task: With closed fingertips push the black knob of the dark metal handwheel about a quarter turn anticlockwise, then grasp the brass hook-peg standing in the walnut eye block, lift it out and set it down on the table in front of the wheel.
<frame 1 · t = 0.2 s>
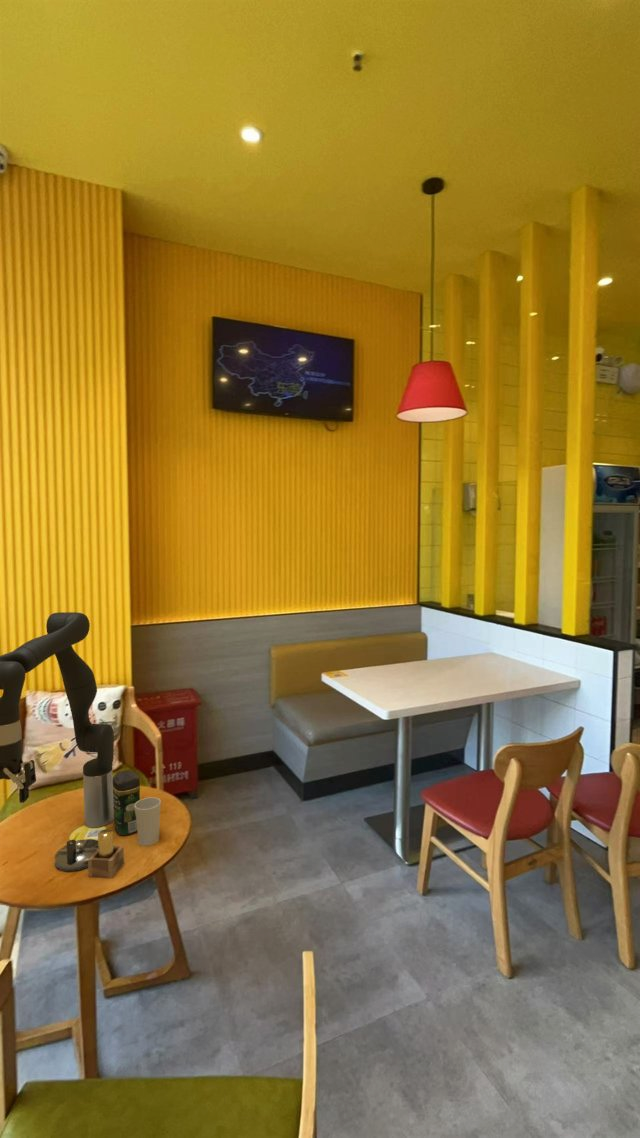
hand: (7, 801, 136), 28 cm above the table, fingers open, 8 cm apart
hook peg: (106, 851, 153), in the eye block
coffee jar: (127, 829, 176), on the table
axle cap: (79, 845, 159), point 4 cm above the table
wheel: (78, 844, 159), point 4 cm above the table, hinge at 10.0°
cup: (148, 840, 169), on the table
eye block: (106, 869, 153), on the table
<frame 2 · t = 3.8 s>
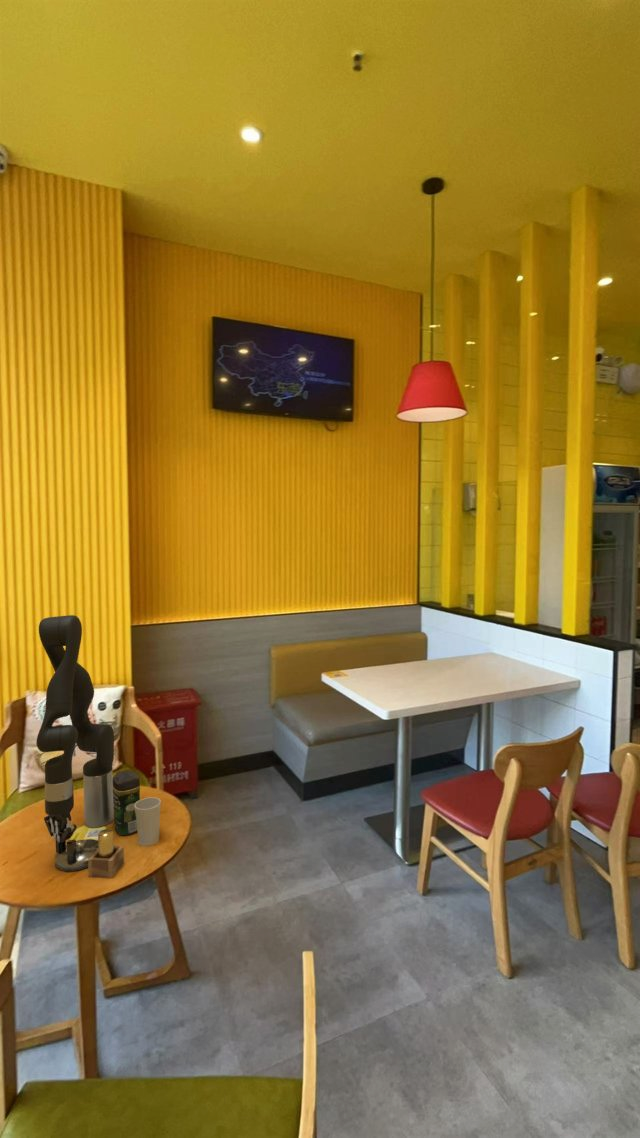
hand: (61, 852, 155), 5 cm above the table, fingers closed
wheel: (78, 844, 159), point 4 cm above the table, hinge at 10.7°, touching gripper
everything else where it was.
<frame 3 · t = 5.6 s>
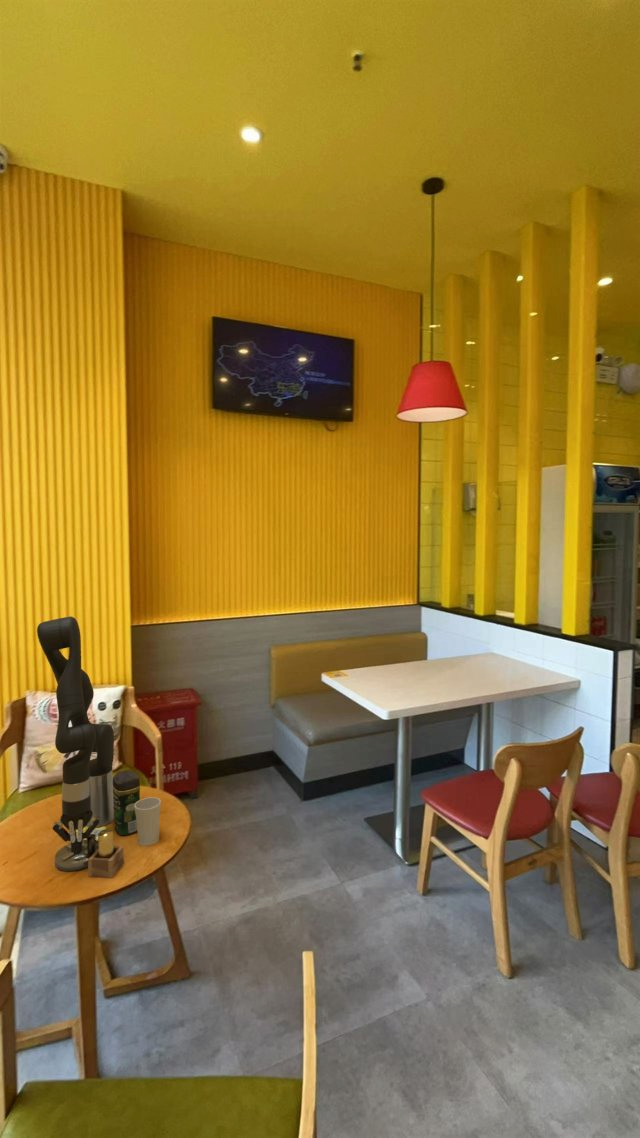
hand: (77, 852, 154), 5 cm above the table, fingers closed
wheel: (79, 844, 159), point 4 cm above the table, hinge at 69.1°, touching gripper
everything else where it was.
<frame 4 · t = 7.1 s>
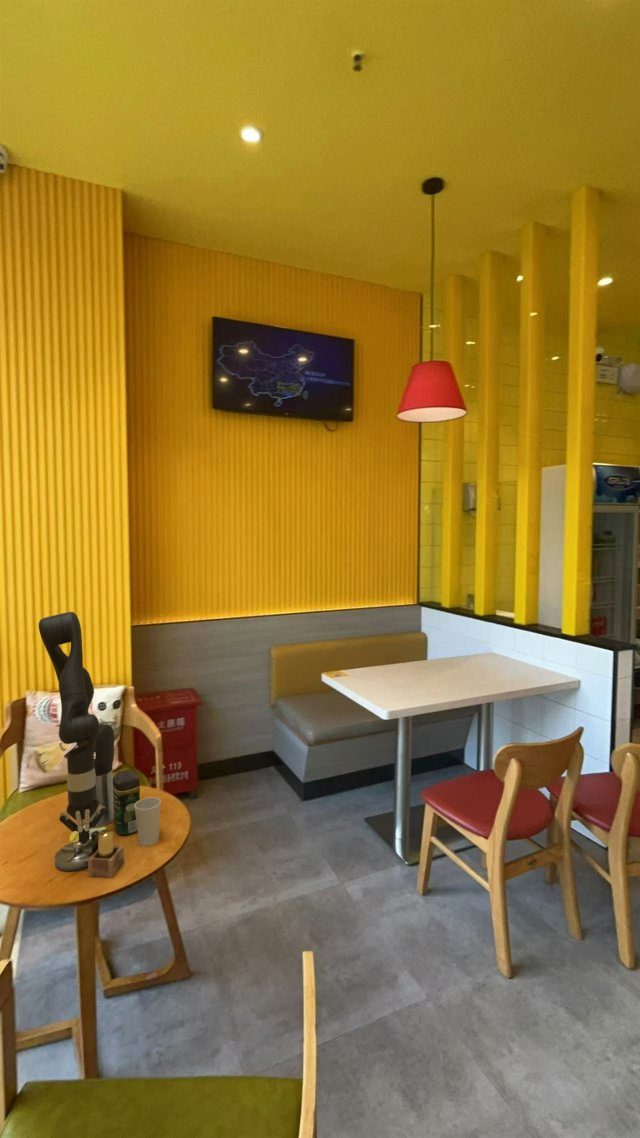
hand: (84, 842, 155), 7 cm above the table, fingers closed
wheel: (79, 844, 159), point 4 cm above the table, hinge at 86.1°
everything else where it was.
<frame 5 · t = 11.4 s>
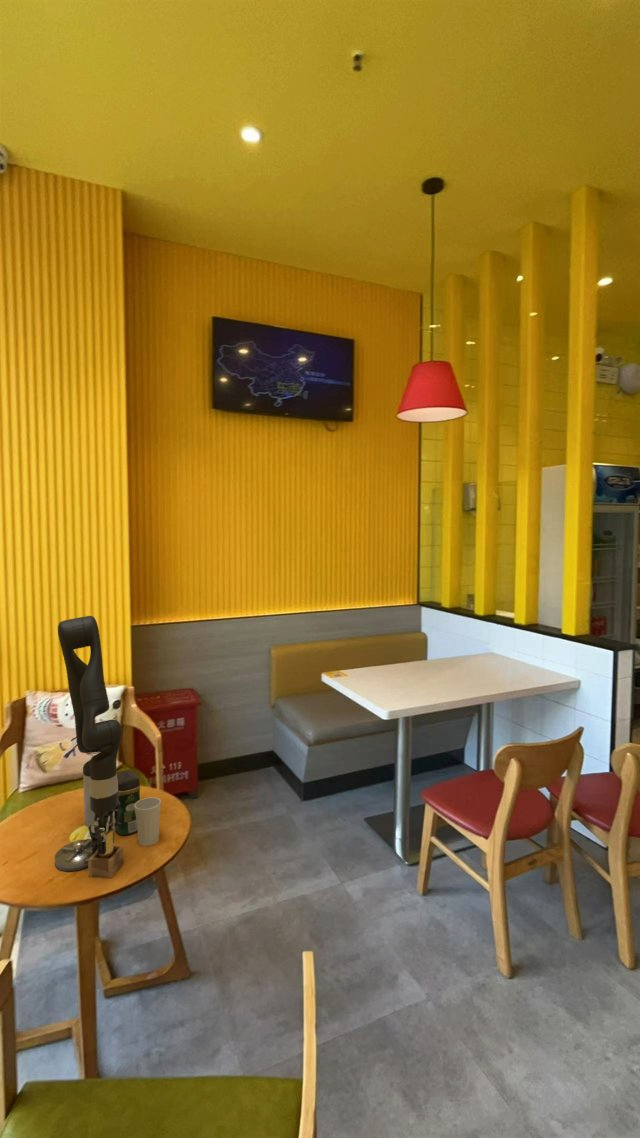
hand: (105, 848, 153), 6 cm above the table, fingers closed on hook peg, 4 cm apart
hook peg: (106, 851, 153), in the eye block, touching gripper
everything else where it was.
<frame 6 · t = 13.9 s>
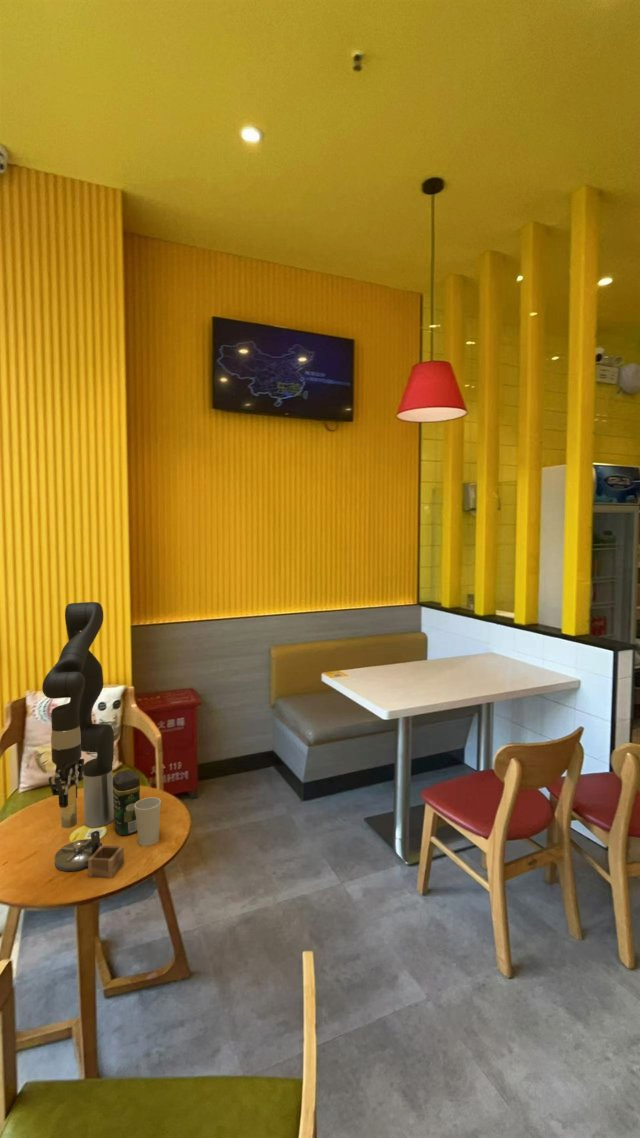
hand: (68, 802, 149), 21 cm above the table, fingers closed on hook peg, 4 cm apart
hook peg: (68, 805, 149), point 21 cm above the table, touching gripper
everything else where it was.
when the fingers open (7 cm above the table, at t = 16.7 s): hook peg stays where it is, on the table.
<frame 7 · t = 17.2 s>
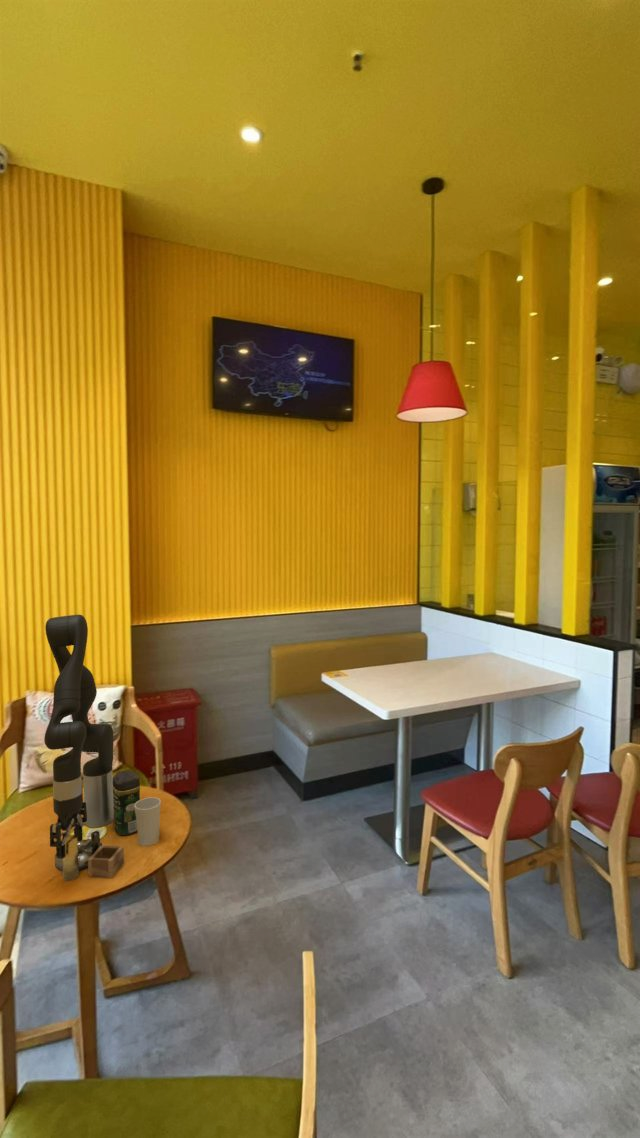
hand: (70, 849, 150), 8 cm above the table, fingers open, 8 cm apart
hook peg: (70, 857, 150), on the table
everything else where it was.
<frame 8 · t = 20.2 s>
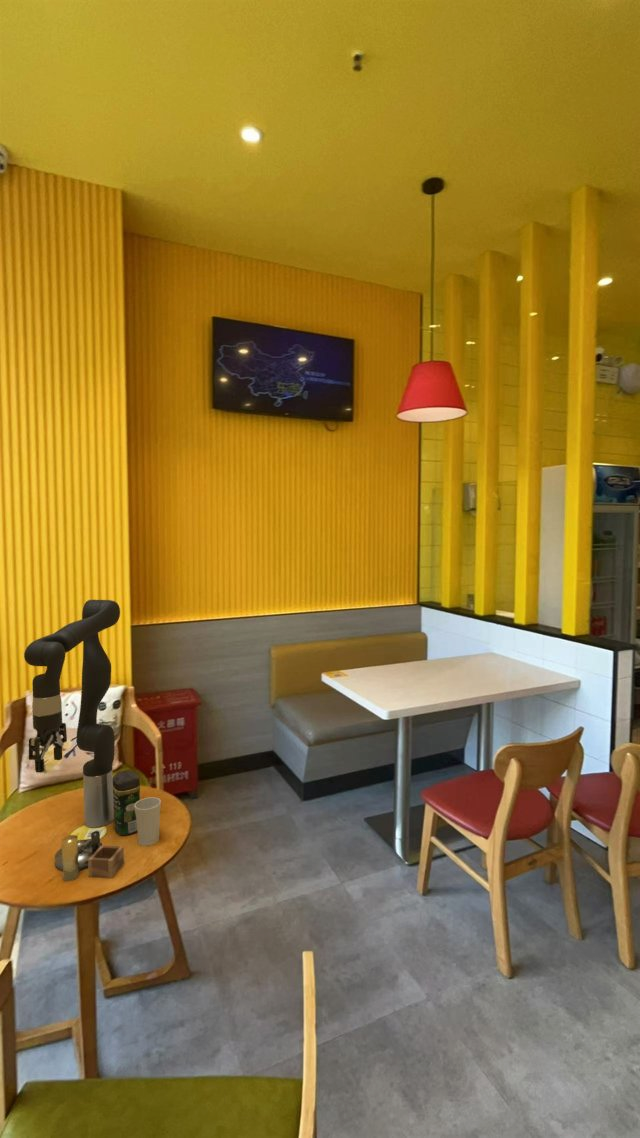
hand: (49, 765, 154), 30 cm above the table, fingers open, 8 cm apart
nothing on the table moved.
at the end: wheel at +86° (first picture: +10°); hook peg inside the target area (0.5 cm from its centre), on the table; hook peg touching table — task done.
